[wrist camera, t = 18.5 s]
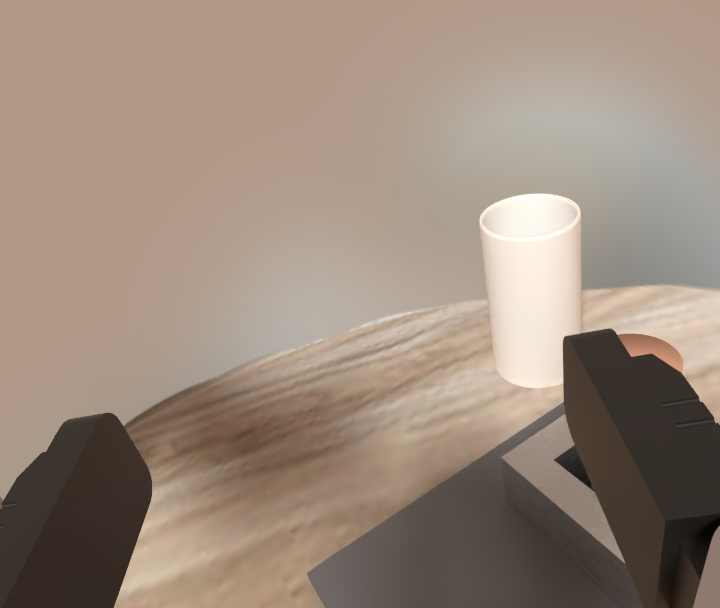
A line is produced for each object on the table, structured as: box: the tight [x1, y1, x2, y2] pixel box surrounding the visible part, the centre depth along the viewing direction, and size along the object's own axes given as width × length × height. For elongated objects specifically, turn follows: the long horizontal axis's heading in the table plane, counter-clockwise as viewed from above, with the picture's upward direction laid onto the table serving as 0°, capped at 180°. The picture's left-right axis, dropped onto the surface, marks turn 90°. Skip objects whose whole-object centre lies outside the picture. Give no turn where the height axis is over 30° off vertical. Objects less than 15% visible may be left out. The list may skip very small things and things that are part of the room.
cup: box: [480, 194, 581, 388], centre depth 53 cm, size 8×8×16 cm
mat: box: [307, 402, 619, 608], centre depth 41 cm, size 17×28×1 cm, turn 121°
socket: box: [501, 414, 644, 608], centre depth 40 cm, size 12×12×5 cm
